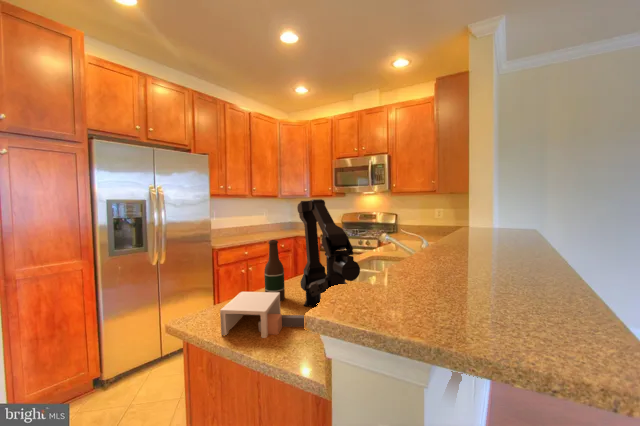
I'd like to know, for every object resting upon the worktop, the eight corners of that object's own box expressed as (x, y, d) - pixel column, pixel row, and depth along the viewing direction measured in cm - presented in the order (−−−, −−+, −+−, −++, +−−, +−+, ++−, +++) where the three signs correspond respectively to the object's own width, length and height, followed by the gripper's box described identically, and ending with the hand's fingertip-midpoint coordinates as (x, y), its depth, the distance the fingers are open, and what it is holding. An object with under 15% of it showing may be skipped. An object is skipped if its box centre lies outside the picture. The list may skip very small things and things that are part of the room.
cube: (268, 327, 91) (268, 313, 91) (282, 327, 91) (281, 314, 90) (263, 334, 87) (263, 319, 87) (277, 334, 86) (277, 320, 86)
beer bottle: (261, 301, 113) (259, 241, 111) (273, 295, 120) (271, 238, 118) (277, 304, 109) (275, 242, 108) (288, 297, 116) (287, 239, 115)
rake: (263, 323, 94) (263, 314, 94) (321, 324, 92) (321, 315, 92) (258, 331, 88) (258, 322, 88) (320, 332, 87) (319, 323, 87)
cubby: (242, 313, 102) (241, 291, 101) (280, 314, 100) (279, 292, 99) (221, 335, 86) (220, 310, 85) (266, 337, 84) (265, 311, 84)
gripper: (314, 264, 99) (315, 308, 100) (304, 280, 81) (306, 334, 82) (346, 264, 98) (347, 309, 99) (344, 281, 79) (345, 336, 80)
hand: (336, 320), depth 90 cm, fingers closed
